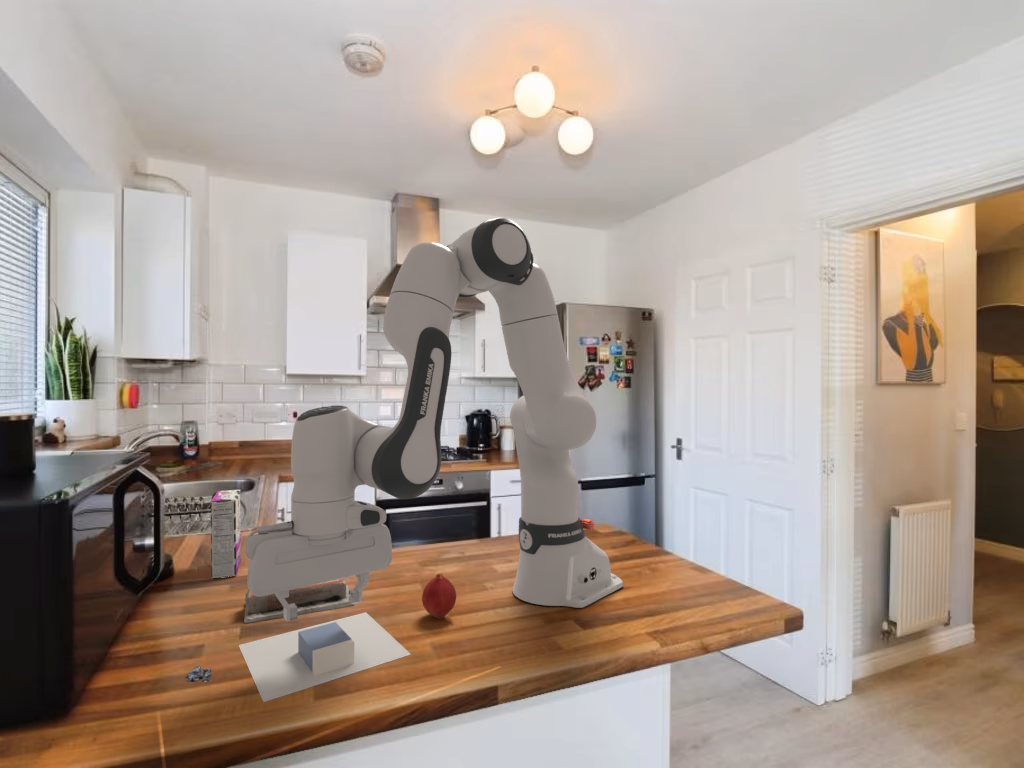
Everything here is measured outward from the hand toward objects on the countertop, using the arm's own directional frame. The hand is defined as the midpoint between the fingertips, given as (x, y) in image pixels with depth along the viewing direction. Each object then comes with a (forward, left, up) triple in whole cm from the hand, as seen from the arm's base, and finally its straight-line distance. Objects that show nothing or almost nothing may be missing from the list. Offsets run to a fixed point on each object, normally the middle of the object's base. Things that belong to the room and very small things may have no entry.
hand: (324, 610), depth 78 cm
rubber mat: (0, -1, -7) cm, 7 cm away
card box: (0, -3, -5) cm, 5 cm away
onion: (-20, -1, -7) cm, 21 cm away
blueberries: (+15, -4, -7) cm, 17 cm away
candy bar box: (+6, -50, -7) cm, 50 cm away
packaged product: (-2, -21, -7) cm, 22 cm away
